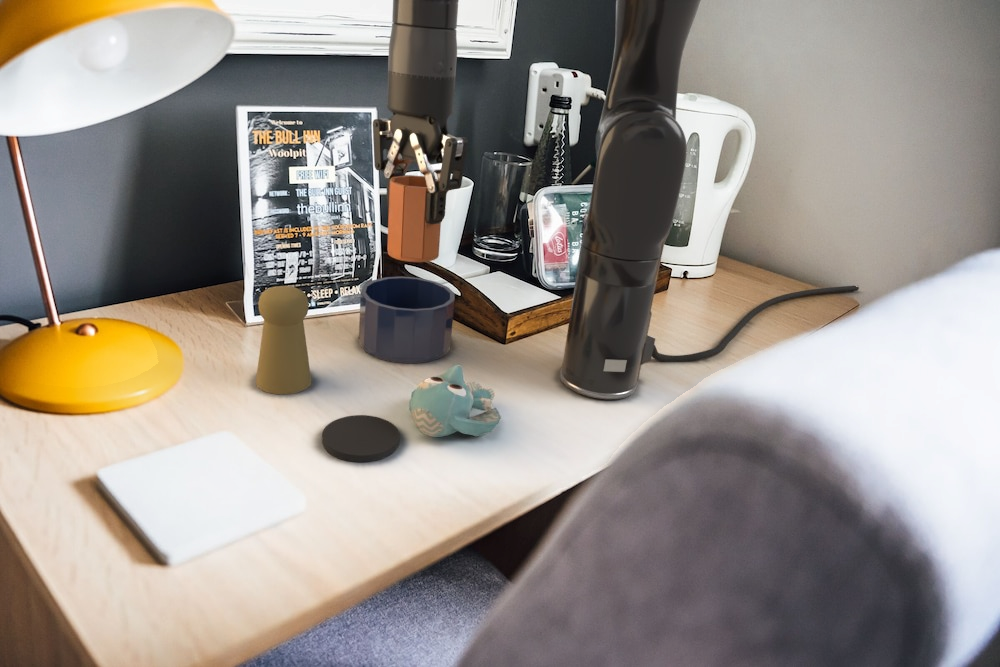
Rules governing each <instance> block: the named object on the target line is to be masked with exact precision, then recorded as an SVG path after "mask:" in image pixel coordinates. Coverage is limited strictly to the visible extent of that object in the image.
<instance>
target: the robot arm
mask: <svg viewBox="0 0 1000 667" xmlns="http://www.w3.org/2000/svg"><path fill="white" fill-rule="evenodd" d="M700 3H701V0H615V35H614V36H615V38H614V50H613V57H612V58H613V59H612V64H611V70H610V74H609V79H608V84H607V90H606V94H605V98H604V101H603V102H604V103H603V107H602V110H601V115H600V119H599V123H598V126H597V130H596V134H595V144H594V146H595V147H594V149H595V154H596V155H595V156H596V164H595V170H594V177H593V184H592V190H591V194H590V201H589V207H588V210H587V215H586V219H585V221H584V223H583V230H582V237H581V242H580V248H579V249H580V250H579V255H578V262H577V269H576V276H575V282H574V287H573V294H572V300H571V301H572V302H571V308H570V313H569V319H568V327H567V334H566V339H565V344H564V345H565V346H564V351H563V358H562V365H561V368H560V370H559V371H560V372H559V379H560V381H561V383H562V385H564V386H565V387H567V389H569V390H571V391H573V392H575V393H577V394H579V395H583V396H586V397H588V398H593V399H600V400H620V399H625V398H628V397H630V396H632V395H633V394H634V393H635V392H636V389H637V385H638V382H639V379H640V374H641V370H642V366H643V365H644V364H647V363H649V362H650V361H652V358H653V359H654V360H656V361H658V362H662V363H688V362H695V361H700V360H703V359H707V358H712V357H714V356H716V355H718V354H720V353H722V352H723V351H724V350H725V348H727V347H728V345H729V343H730V342H731V341H732V340H733V339H735V337H736V336H737V335H738V334H739V333H740V332H741V330H743V329H744V327H746V325H747V324H748V323H749V322H750V321H751V320H752V319H753V318H754V317H756V315H758V314H759V313H760V312H762V311H763V310H765V309H767V308H768V307H770V306H773V305H775V304H778V303H781V302H784V301H787V300H793V299H796V298H802V297H807V296H808V297H809V296H815V295H824V294H835V293H843V292H844V293H845V292H856V291H857V292H858V291H859V289H860V287H859V286H858V287H856V286H855V285H844V286H830V287H822V288H813V289H812V288H811V289H805V290H799V291H793V292H790V293H785V294H782V295H779V296H775V297H773V298H770V299H768V300H766V301H764V302H762V303H761V304H759V305H757V306H756V307H754V308H752V309H751V310H750V311H749V312H747V314H746V315H745V316H743V318H742V319H740V321H738V322H737V323H736V324H735V326H734V327H733V328H732V329H731V330H730V331H729V332H728V333H727V334H726V335H725V336H724V337H723V338H722V339H721V341H720V342H719V343H718V344H717V345H716V346H715V347H712V348H710V349H707V350H702V351H699V352H694V353H690V354H681V355H671V354H670V355H669V354H663V353H659V352H658V350H657V346H656V345H655V343H656V338H655V337H653V336H651V335H649V330H650V324H651V319H652V307H653V302H654V296H655V292H656V288H657V281H658V276H659V271H660V266H661V262H662V255H663V251H664V248H665V243H666V240H667V239H668V238H669V237H668V236H669V235H670V233H671V230H672V227H673V223H674V218H675V216H676V215H675V214H676V211H677V207H678V206H677V205H678V201H679V197H680V193H681V188H682V184H683V179H684V175H685V170H686V165H687V164H686V163H687V155H688V145H687V144H688V143H687V139H686V135H685V132H684V130H683V128H682V127H681V125H680V123H679V122H678V121H677V99H678V91H679V79H680V71H681V63H682V59H683V54H684V50H685V48H686V47H685V46H686V43H687V40H688V37H689V35H690V32H691V29H692V26H693V23H694V21H695V18H696V15H697V12H698V9H699V6H700ZM458 12H459V0H392V18H391V22H392V23H391V30H390V36H389V43H388V61H387V89H386V90H387V91H386V108H387V110H388V111H389V112H391V113H392V116H391V118H385V117H384V118H375V119H373V121H372V139H373V140H372V141H373V161H374V168H375V170H377V171H381V172H382V173H383V176H384V178H385V179H386V196H385V199H386V200H385V201H386V207H387V209H388V210H389V190H390V180H391V177H396V176H404V175H407V171H408V169H409V167H410V165H411V164H413V163H416V164H417V166H418V170H419V173H420V174H422V176H425V180H426V184H427V188H428V191H429V192H427V198H426V215H425V221H426V222H427V223H429V224H437V223H441V224H442V222H443V220H444V219H445V216H446V206H447V194H448V192H449V191H454V190H459V189H461V187H462V183H463V177H464V171H465V165H466V160H467V153H468V147H469V140H468V137H464V136H461V137H456V136H454V135H452V134H450V131H449V127H448V120H449V118H450V117H451V115H452V114H453V113H454V105H455V104H454V103H455V89H456V88H455V87H456V78H457V77H456V73H457V59H458V41H457V39H458V38H457V28H458ZM384 150H386V159H385V158H384ZM434 162H436V163H434ZM435 174H436V175H435ZM436 176H437V178H436ZM436 179H438V181H436Z"/></svg>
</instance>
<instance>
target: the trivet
mask: <svg viewBox="0 0 1000 667" xmlns="http://www.w3.org/2000/svg"><path fill="white" fill-rule="evenodd" d="M322 430H323V431H322V433H321V444H322V446H323V448H324V450H325V451H326V452H327V453H328V454H329V455H331V456H333V457H335V458H336V459H340V460H343V461H346V462H353V463H370V462H375V461H379V460H384V459H385V458H387V457H390V456H391V455H393V454H394V453H395V452H396V451H397V450H398V449H399V446H400V439H401V434H400V431H399V429H398V428H397V426H396V425H394V423H392V422H390V421H389V420H386V419H384V418H382V417H378V416H374V415H363V414H356V415H355V414H354V415H346V416H343V417H339V418H337V419H335V420H332V421H331V422H329V423H328V424H327V425H326V426H325V428H323V429H322Z"/></svg>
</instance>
